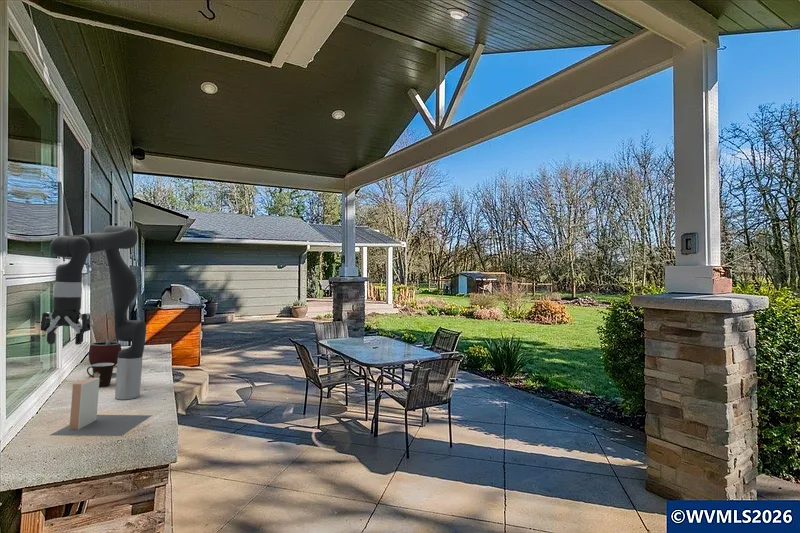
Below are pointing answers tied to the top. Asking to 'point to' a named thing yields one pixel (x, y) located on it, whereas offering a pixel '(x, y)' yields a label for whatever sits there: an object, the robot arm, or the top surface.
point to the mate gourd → (104, 353)
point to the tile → (84, 403)
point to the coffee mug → (102, 373)
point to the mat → (105, 426)
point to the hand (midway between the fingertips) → (64, 344)
